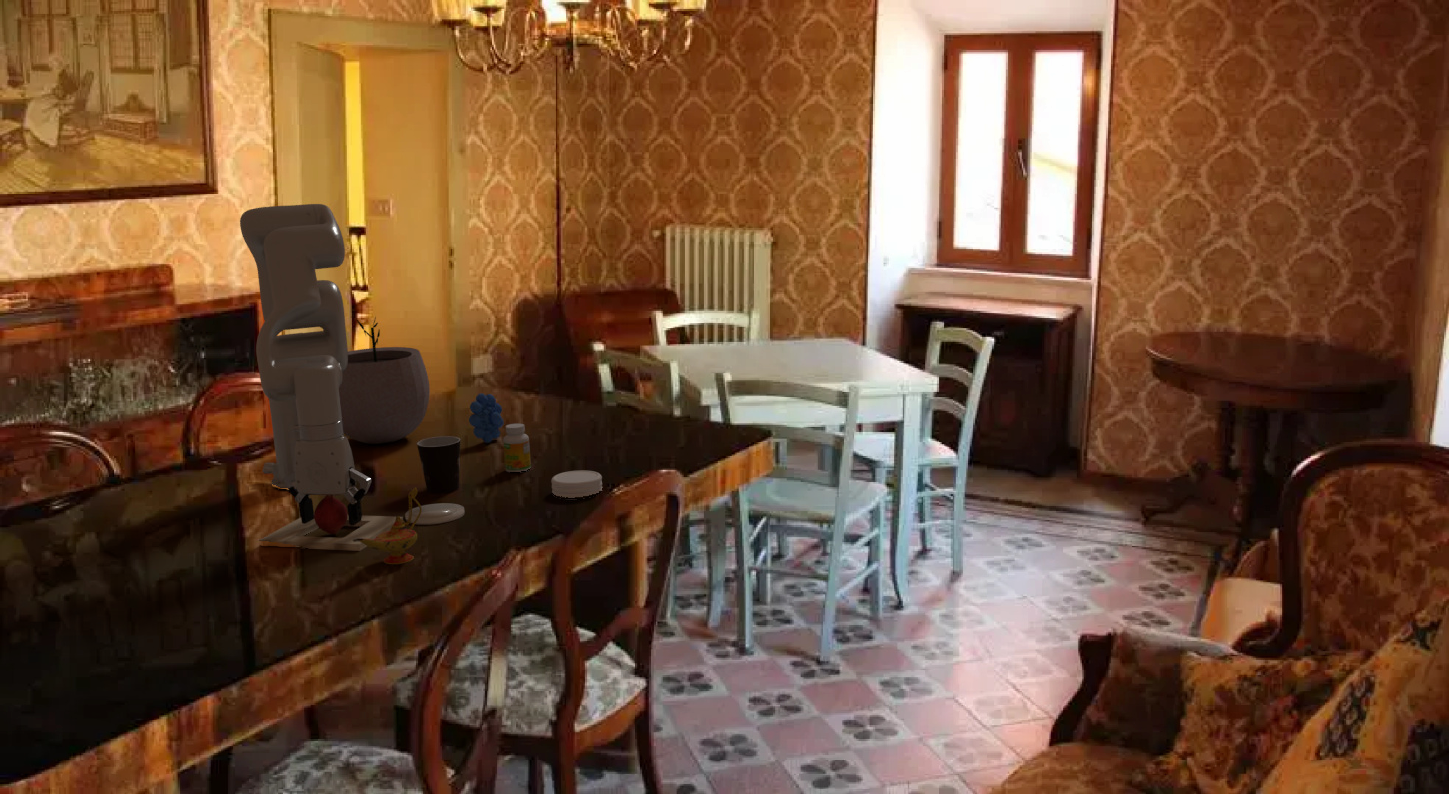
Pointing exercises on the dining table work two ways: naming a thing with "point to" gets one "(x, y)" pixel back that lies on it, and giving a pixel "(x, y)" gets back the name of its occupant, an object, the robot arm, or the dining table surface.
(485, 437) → the grapes
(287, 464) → the robot arm
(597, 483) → the white round container
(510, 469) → the supplement bottle
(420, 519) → the saucer
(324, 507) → the onion
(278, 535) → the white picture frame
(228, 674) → the dining table surface
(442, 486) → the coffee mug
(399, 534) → the magic lamp
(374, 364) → the plant pot
